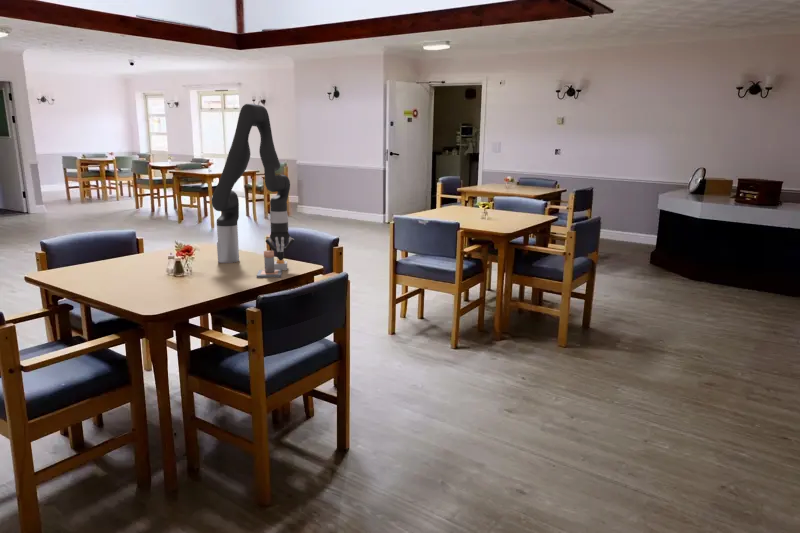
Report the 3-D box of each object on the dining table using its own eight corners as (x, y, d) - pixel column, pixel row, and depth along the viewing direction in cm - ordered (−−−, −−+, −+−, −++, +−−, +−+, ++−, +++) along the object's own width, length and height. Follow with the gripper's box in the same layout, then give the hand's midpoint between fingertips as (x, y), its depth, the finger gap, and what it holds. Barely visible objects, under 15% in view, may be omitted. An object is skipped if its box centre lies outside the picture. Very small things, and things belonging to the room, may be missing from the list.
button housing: (273, 270, 249) (273, 264, 248) (274, 267, 254) (274, 261, 253) (286, 270, 250) (286, 263, 249) (287, 267, 255) (287, 261, 254)
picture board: (256, 277, 236) (256, 275, 236) (258, 272, 246) (258, 269, 245) (281, 277, 238) (280, 274, 237) (282, 271, 247) (282, 269, 247)
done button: (276, 267, 250) (276, 260, 249) (277, 265, 253) (277, 259, 252) (283, 267, 250) (283, 260, 250) (284, 265, 253) (284, 259, 253)
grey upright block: (264, 273, 239) (263, 252, 237) (264, 271, 243) (263, 250, 241) (274, 272, 240) (273, 252, 238) (274, 270, 244) (274, 250, 242)
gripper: (294, 219, 252) (296, 257, 255) (264, 220, 250) (266, 258, 254) (294, 222, 244) (295, 261, 248) (263, 222, 242) (264, 262, 246)
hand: (280, 259), depth 251 cm, fingers closed
